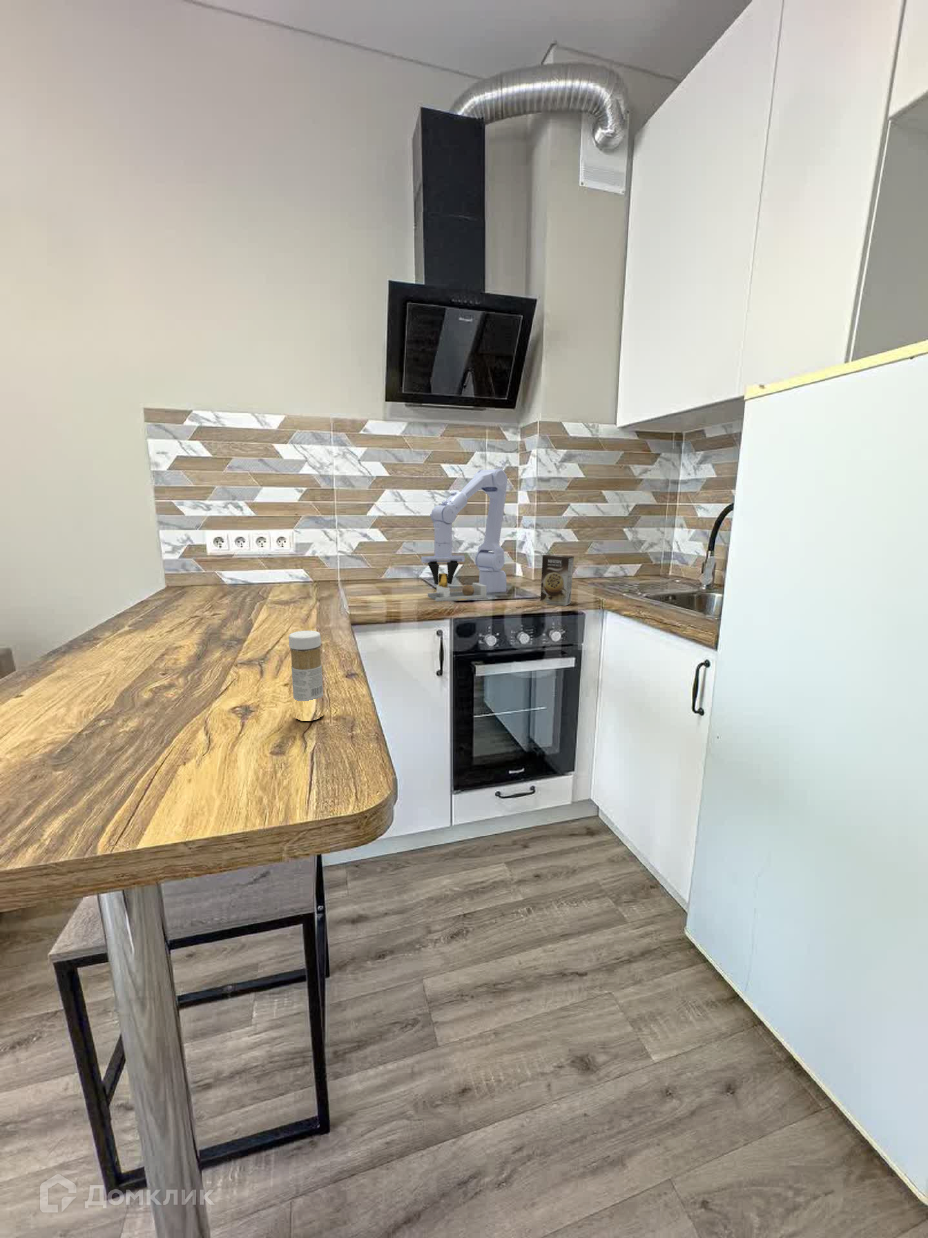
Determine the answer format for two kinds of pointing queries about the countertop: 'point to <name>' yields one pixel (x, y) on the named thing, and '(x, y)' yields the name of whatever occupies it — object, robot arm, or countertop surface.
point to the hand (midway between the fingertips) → (443, 583)
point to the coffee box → (556, 579)
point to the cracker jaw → (443, 586)
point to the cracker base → (478, 594)
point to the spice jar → (306, 665)
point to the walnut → (468, 590)
